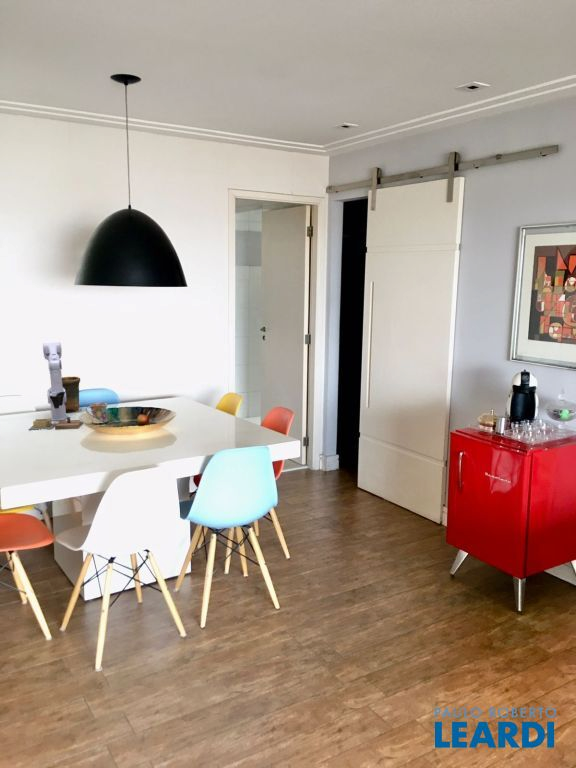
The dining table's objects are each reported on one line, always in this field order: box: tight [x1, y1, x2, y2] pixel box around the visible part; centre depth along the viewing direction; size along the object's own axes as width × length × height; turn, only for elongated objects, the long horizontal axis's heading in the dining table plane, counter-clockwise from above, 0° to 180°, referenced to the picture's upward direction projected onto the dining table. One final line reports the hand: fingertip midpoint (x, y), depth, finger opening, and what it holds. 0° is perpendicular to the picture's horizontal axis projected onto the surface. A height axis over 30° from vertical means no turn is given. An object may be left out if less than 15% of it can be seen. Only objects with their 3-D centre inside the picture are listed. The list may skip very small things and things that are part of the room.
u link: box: [32, 418, 53, 428], centre depth 357 cm, size 8×6×4 cm
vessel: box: [62, 376, 81, 415], centre depth 395 cm, size 14×14×20 cm
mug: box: [85, 401, 109, 423], centre depth 363 cm, size 12×9×11 cm
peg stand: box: [54, 416, 84, 431], centre depth 358 cm, size 12×12×5 cm
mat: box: [27, 422, 58, 431], centre depth 358 cm, size 12×12×1 cm
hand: (58, 406), depth 361 cm, fingers open, 7 cm apart
